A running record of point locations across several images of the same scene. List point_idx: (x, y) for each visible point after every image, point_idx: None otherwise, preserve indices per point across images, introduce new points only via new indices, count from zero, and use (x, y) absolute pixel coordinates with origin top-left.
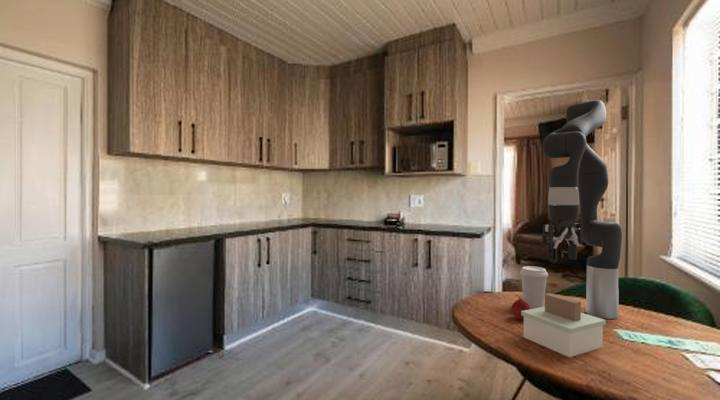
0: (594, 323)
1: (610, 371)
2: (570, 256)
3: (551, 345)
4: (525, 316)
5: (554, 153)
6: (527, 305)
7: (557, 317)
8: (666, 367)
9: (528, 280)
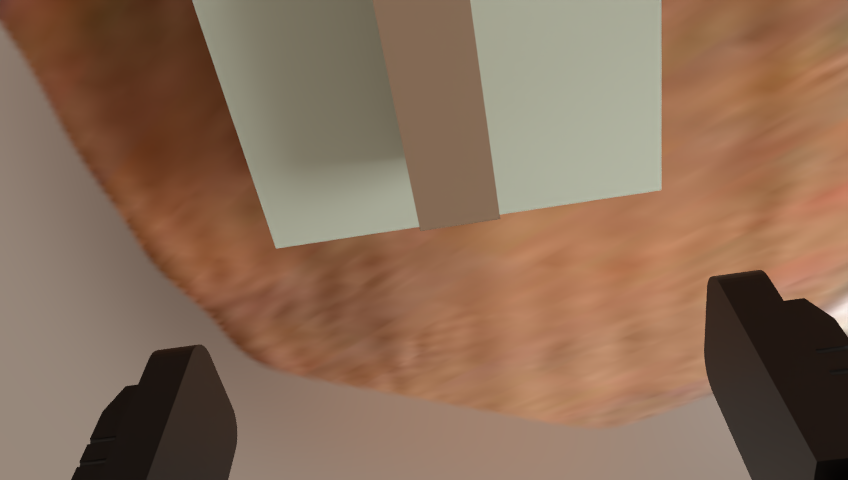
0: (527, 207)
1: (404, 266)
2: (724, 328)
3: None
4: None
5: None
6: None
7: (357, 59)
8: (683, 295)
9: None
